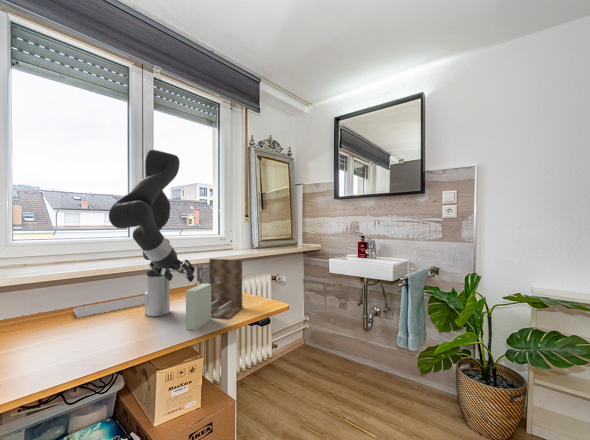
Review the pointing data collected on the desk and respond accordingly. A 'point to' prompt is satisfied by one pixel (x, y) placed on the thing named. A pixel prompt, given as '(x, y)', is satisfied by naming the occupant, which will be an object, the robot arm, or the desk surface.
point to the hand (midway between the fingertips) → (181, 279)
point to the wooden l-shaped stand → (225, 287)
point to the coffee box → (202, 275)
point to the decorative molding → (109, 306)
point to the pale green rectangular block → (198, 306)
